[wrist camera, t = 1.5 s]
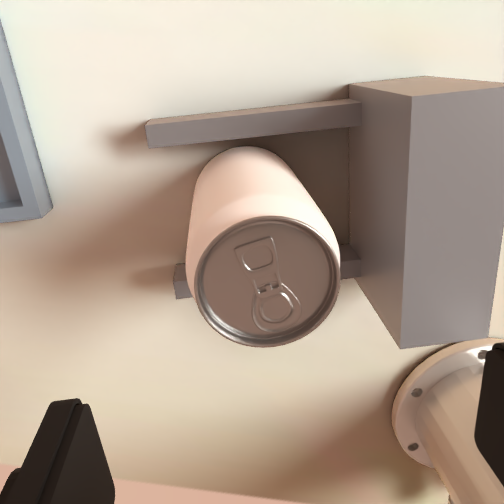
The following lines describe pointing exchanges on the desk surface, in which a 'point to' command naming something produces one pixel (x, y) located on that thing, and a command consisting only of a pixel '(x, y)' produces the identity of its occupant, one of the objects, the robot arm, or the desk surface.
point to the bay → (400, 195)
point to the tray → (18, 151)
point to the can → (259, 251)
